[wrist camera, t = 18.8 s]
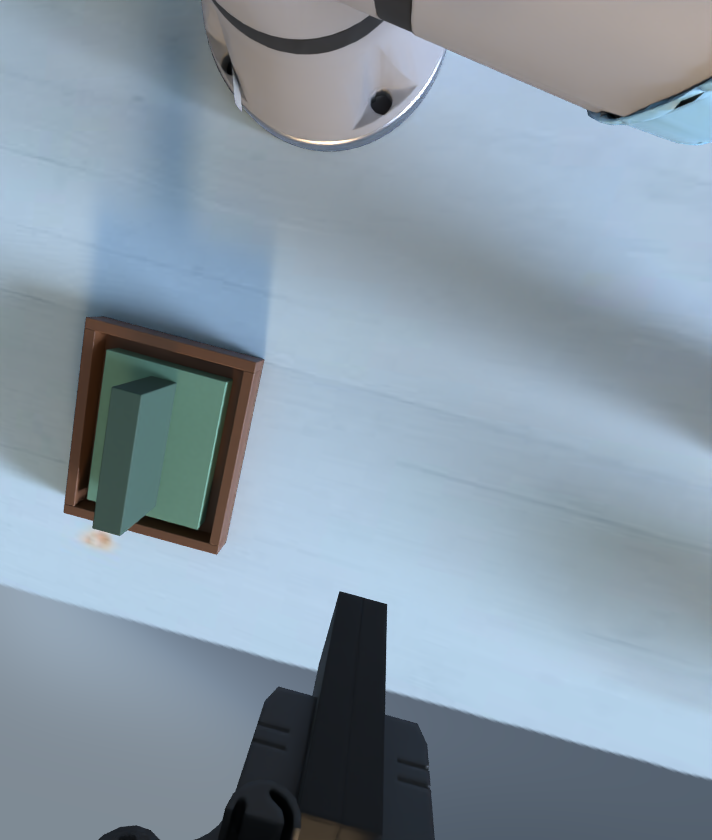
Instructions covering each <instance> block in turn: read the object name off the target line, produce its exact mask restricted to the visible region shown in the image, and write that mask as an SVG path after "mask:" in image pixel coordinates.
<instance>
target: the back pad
mask: <svg viewBox="0 0 712 840" xmlns="http://www.w3.org/2000/svg"><path fill="white" fill-rule="evenodd" d="M232 382H233V379H230V378H227V377H223V376H219V375H216V374H212V373H208V372H205V371H201V370H197V369H194V368H190V367H186V366H183V365H179V364H175V363H172V362H168V361H164V360H161V359H157V358H153V357H150V356H146V355H142V354H139V353H135V352H131V351H128V350H124V349H120V348H114V349H107V350H106V358H105V365H104V373H103V381H102V388H101V396H100V403H99V411H98V418H97V426H96V434H95V441H94V449H93V456H92V464H91V472H90V479H89V487H88V494H87V499H89V500H92V501H96V505H95V512H94V520H93V527H92V528H93V529H97V530H100V531H104V532H108V533H111V534H115V535H118V536H121V535H122V534H123V533H124V532H126V531H127V530H128V529H129V528H130V527H132V526H133V525H134V524H135V523H136V522H138V521H139V520H140V519H141V518H142V517H143V516H145V515H146V516H150V517H154V518H157V519H161V520H164V521H168V522H172V523H175V524H179V525H182V526H186V527H190V528H193V529H198V528H199V527H200V526H201V525H202V524H203V523H204V522H205V517H206V512H207V507H208V502H209V497H210V492H211V487H212V482H213V477H214V472H215V467H216V462H217V457H218V452H219V447H220V442H221V437H222V432H223V427H224V422H225V417H226V412H227V407H228V402H229V397H230V392H231V387H232Z"/></svg>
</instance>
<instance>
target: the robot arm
mask: <svg viewBox="0 0 712 840" xmlns="http://www.w3.org/2000/svg"><path fill="white" fill-rule="evenodd" d="M201 3H202V11H203V19H204V24H205V30H206V34H207V38H208V42H209V45H210V49H211V52H212V55H213V58H214V60H215V62H216V65H217V67H218V69H219V71H220V73H221V75H222V77H223V79H224V81H225V82H226V84H227V86H228V87H229V89H230V90H231V92H232V93H233V94H234V97H235V104H236V105H237V106H238V108H239V109H240V110H241V112H242V106H243V108H244V109H245V110H246V112H247V113H248V114H249V115H250V116H251V117H252V118H253V119H254V120H255V121H256V122H257V123H258V124H260V125H261V126H262V127H263V128H264V129H266V130H267V131H268V132H270V133H271V134H273V135H274V136H276V137H278V138H280V139H281V140H283V141H286V142H288V143H290V144H292V145H295V146H298V147H302V148H306V149H310V150H317V151H341V150H348V149H353V148H357V147H360V146H363V145H366V144H369V143H371V142H373V141H375V140H377V139H379V138H381V137H383V136H384V135H386V134H388V133H389V132H391V131H392V130H393V129H395V128H396V127H397V126H399V125H400V124H401V123H402V122H403V121H404V120H406V119H407V118H408V117H409V116H410V115H411V113H412V112H413V111H414V110H415V109H416V108H417V107H418V105H419V104H420V103H421V101H422V100H423V99H424V98H425V96H426V94H427V93H428V91H429V90H430V88H431V86H432V84H433V83H434V81H435V79H436V77H437V75H438V72H439V70H440V67H441V65H442V62H443V59H444V56H445V53H446V50H450V51H452V52H454V53H457V54H459V55H461V56H464V57H466V58H468V59H471V60H473V61H475V62H478V63H480V64H482V65H485V66H487V67H489V68H492V69H494V70H496V71H499V72H501V73H503V74H506V75H508V76H510V77H513V78H515V79H517V80H519V81H522V82H524V83H526V84H529V85H531V86H533V87H536V88H538V89H540V90H543V91H545V92H547V93H550V94H552V95H554V96H557V97H559V98H561V99H564V100H566V101H568V102H571V103H573V104H575V105H578V106H580V107H582V108H585V109H587V112H588V115H589V116H590V117H591V118H593V119H595V120H597V121H599V122H601V123H605V124H609V125H628V126H631V127H634V128H637V129H639V130H642V131H645V132H648V133H650V134H653V135H656V136H658V137H661V138H664V139H667V140H669V141H672V142H676V143H680V144H688V145H702V144H706V143H710V142H712V0H201ZM241 105H242V106H241ZM386 631H387V604H384V603H381V602H377V601H373V600H370V599H366V598H362V597H359V596H355V595H352V594H348V593H344V592H341V591H340V592H339V595H338V599H337V602H336V606H335V609H334V613H333V616H332V620H331V624H330V627H329V631H328V634H327V638H326V641H325V645H324V648H323V652H322V655H321V659H320V662H319V667H318V671H317V676H316V681H315V686H314V691H313V696H310V695H307V694H303V693H299V692H296V691H293V690H288V689H285V688H282V687H278V688H277V689H276V690H275V691H274V692H273V693H272V694H271V695H270V696H269V697H268V698H267V699H266V701H265V702H264V705H263V708H262V712H261V715H260V718H259V721H258V724H257V727H256V730H255V733H254V736H253V739H252V742H251V745H250V748H249V751H248V755H247V758H246V761H245V764H244V767H243V770H242V773H241V776H240V779H239V782H238V785H237V788H236V791H235V793H233V795H232V797H231V799H230V800H229V802H228V804H227V806H226V808H225V812H224V816H223V820H222V821H221V823H220V824H219V825H218V826H217V827H216V828H215V829H213V830H212V831H211V832H210V833H208V834H206V835H205V836H203V837H201V838H199V839H195V840H435V838H434V825H433V813H432V801H431V790H430V774H429V771H428V768H429V762H428V749H427V743H426V741H425V739H424V737H423V735H422V732H421V730H420V728H419V726H418V724H417V723H413V722H410V721H406V720H402V719H399V718H395V717H391V716H387V715H385V682H386ZM99 840H159V839H158V838H157V836H155V834H154V833H153V832H152V831H151V830H149V829H145V828H142V827H140V826H126V827H119V828H117V829H115V830H113V831H111V832H109V833H107V834H105V835H103V836H102V837H101V838H100V839H99Z"/></svg>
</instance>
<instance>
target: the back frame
mask: <svg viewBox="0 0 712 840" xmlns="http://www.w3.org/2000/svg"><path fill="white" fill-rule="evenodd" d="M114 348H120V349H124V350H128V351H131V352H135V353H139V354H142V355H146V356H150V357H153V358H157V359H161V360H164V361H168V362H172V363H175V364H179V365H183V366H186V367H190V368H194V369H197V370H201V371H205V372H208V373H212V374H216V375H219V376H223V377H227V378H230V379H233V382H232V387H231V392H230V397H229V402H228V407H227V412H226V417H225V422H224V427H223V432H222V437H221V442H220V447H219V452H218V457H217V462H216V467H215V472H214V477H213V482H212V487H211V492H210V497H209V502H208V507H207V512H206V517H205V522H204V523H203V524H202V525H201V526H200V527H199V528H198V529H193V528H190V527H186V526H182V525H179V524H175V523H172V522H168V521H164V520H161V519H157V518H154V517H150V516H146V515H145V516H143V517H142V518H141V519H140V520H139V521H138V522H136V523H135V524H134V525H133V526H132V527H130V528H129V529H128V530H129V531H132V532H136V533H140V534H143V535H147V536H150V537H154V538H158V539H161V540H165V541H169V542H172V543H176V544H180V545H183V546H187V547H191V548H194V549H198V550H202V551H205V552H209V553H212V554H216V555H217V554H218V552H219V551H220V550H221V548H222V547H223V545H224V544H225V543H226V540H227V535H228V530H229V525H230V520H231V516H232V511H233V506H234V501H235V497H236V492H237V487H238V482H239V478H240V473H241V468H242V463H243V458H244V454H245V449H246V444H247V439H248V435H249V430H250V425H251V420H252V416H253V411H254V406H255V401H256V396H257V392H258V387H259V382H260V377H261V373H262V368H263V363H264V359H260V358H257V357H253V356H249V355H245V354H242V353H238V352H234V351H230V350H227V349H223V348H219V347H216V346H212V345H208V344H204V343H201V342H197V341H193V340H189V339H186V338H182V337H178V336H174V335H171V334H167V333H163V332H160V331H156V330H152V329H148V328H145V327H141V326H137V325H133V324H130V323H126V322H122V321H118V320H115V319H111V318H107V317H104V316H101V317H86V321H85V330H84V339H83V347H82V356H81V365H80V373H79V382H78V391H77V399H76V408H75V417H74V426H73V434H72V443H71V452H70V460H69V469H68V478H67V486H66V495H65V504H64V513H67V514H70V515H74V516H77V517H81V518H85V519H88V520H92V521H93V520H94V512H95V505H96V501H92V500H89V499H87V494H88V487H89V479H90V472H91V464H92V456H93V449H94V441H95V434H96V426H97V418H98V411H99V403H100V396H101V388H102V381H103V373H104V365H105V358H106V350H107V349H114Z"/></svg>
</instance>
